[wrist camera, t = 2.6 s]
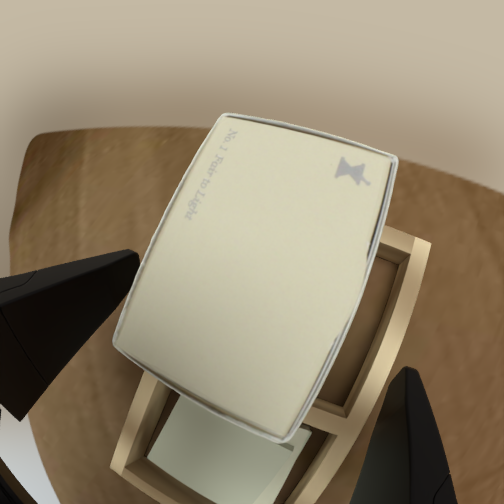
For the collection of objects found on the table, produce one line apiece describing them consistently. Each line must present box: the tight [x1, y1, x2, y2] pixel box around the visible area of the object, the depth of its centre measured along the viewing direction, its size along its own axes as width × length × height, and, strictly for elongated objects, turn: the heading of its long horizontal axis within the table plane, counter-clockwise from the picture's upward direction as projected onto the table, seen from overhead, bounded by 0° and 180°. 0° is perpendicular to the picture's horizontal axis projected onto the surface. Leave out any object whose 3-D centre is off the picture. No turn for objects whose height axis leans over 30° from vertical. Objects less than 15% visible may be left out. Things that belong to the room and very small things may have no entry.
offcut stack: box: [147, 395, 312, 504], centre depth 14 cm, size 7×8×2 cm
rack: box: [110, 225, 431, 504], centre depth 15 cm, size 21×12×2 cm, turn 156°
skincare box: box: [112, 113, 398, 444], centre depth 11 cm, size 6×4×12 cm
